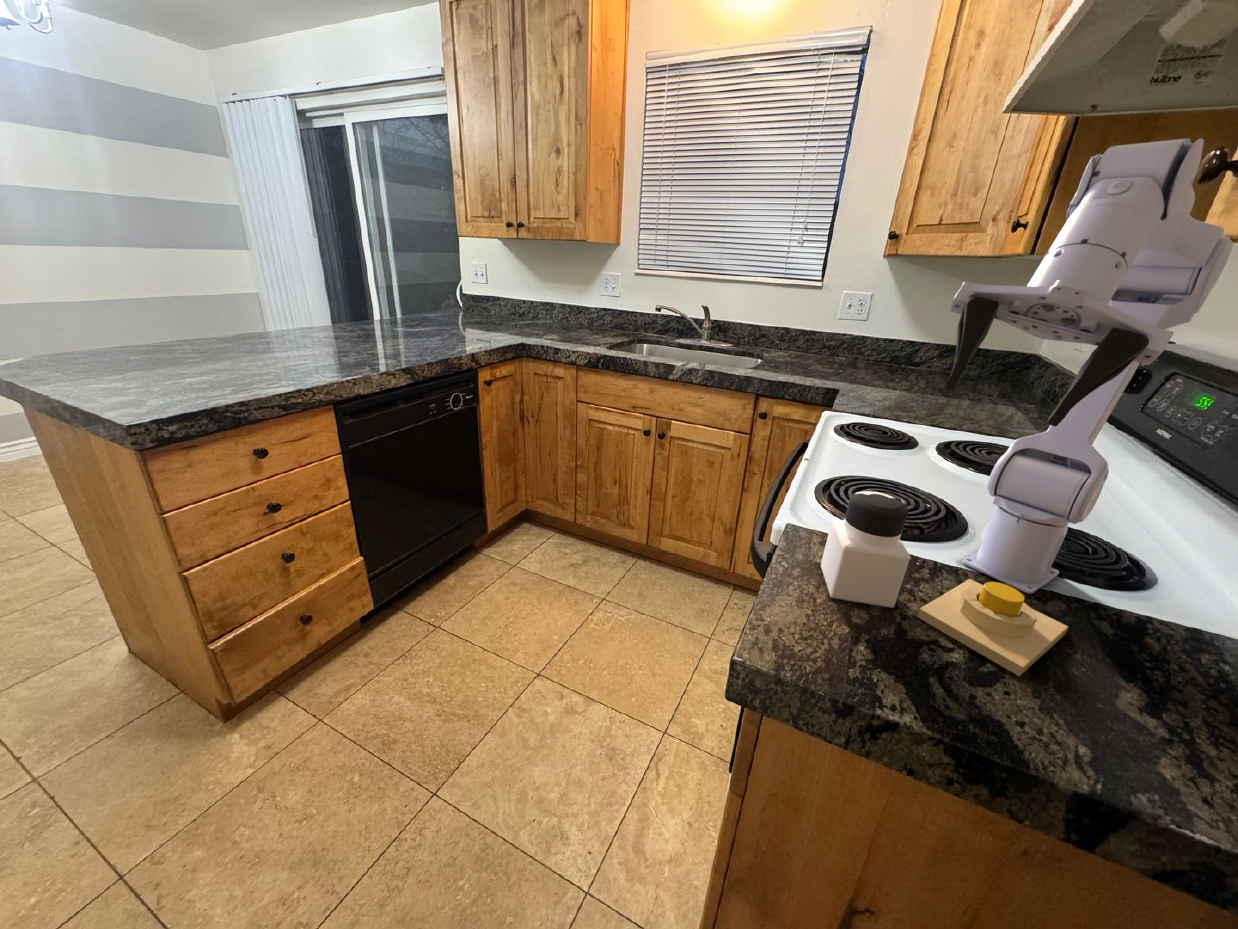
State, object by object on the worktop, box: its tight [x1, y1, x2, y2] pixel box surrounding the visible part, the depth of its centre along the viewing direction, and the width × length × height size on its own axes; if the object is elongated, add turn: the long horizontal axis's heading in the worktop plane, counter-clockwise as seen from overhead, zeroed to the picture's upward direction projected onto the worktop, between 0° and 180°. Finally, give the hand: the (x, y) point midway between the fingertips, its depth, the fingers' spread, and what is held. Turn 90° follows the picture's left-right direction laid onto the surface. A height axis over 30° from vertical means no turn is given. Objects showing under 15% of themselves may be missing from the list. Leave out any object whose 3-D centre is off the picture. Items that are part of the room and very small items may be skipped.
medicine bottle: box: [820, 490, 912, 609], centre depth 58 cm, size 7×7×12 cm
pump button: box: [978, 581, 1026, 617], centre depth 54 cm, size 4×4×2 cm
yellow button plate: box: [916, 578, 1069, 677], centre depth 55 cm, size 12×10×3 cm
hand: (1000, 401), depth 41 cm, fingers open, 7 cm apart
